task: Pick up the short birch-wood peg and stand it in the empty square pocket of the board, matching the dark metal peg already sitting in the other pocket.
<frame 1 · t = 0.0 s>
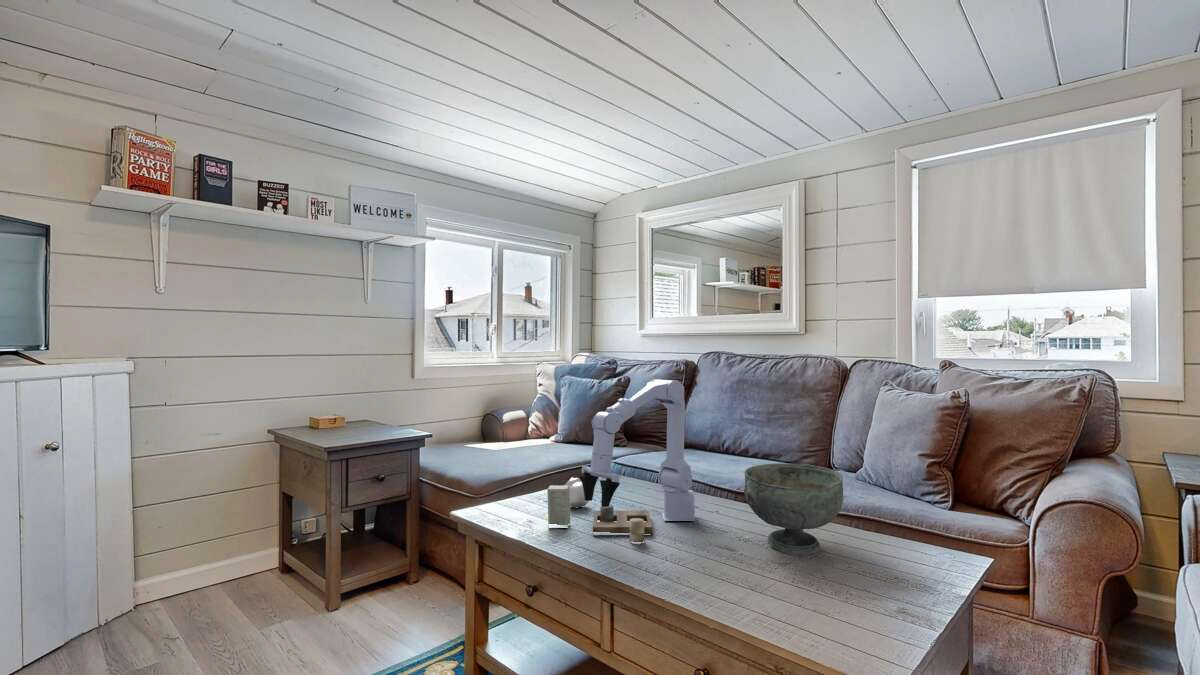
hand: (596, 503, 160), 11 cm above the table, tool pointing down, fingers open, 7 cm apart
ghost figurine: (576, 508, 192), on the table
birch peg: (637, 542, 159), on the table
skincare box: (559, 527, 172), on the table
pocket board: (622, 526, 172), on the table
decorative bowl: (793, 547, 154), on the table
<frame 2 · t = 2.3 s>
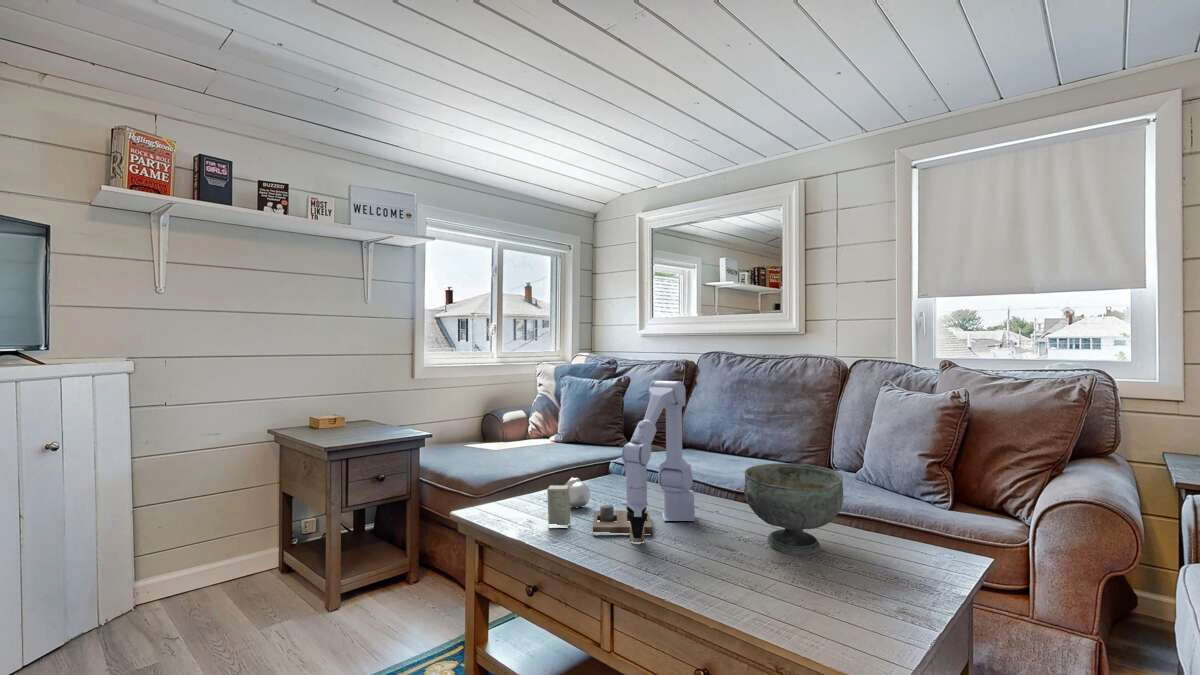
hand: (637, 535, 159), 2 cm above the table, tool pointing down, fingers closed on birch peg, 4 cm apart
birch peg: (637, 542, 159), on the table, touching gripper
everything else where it was.
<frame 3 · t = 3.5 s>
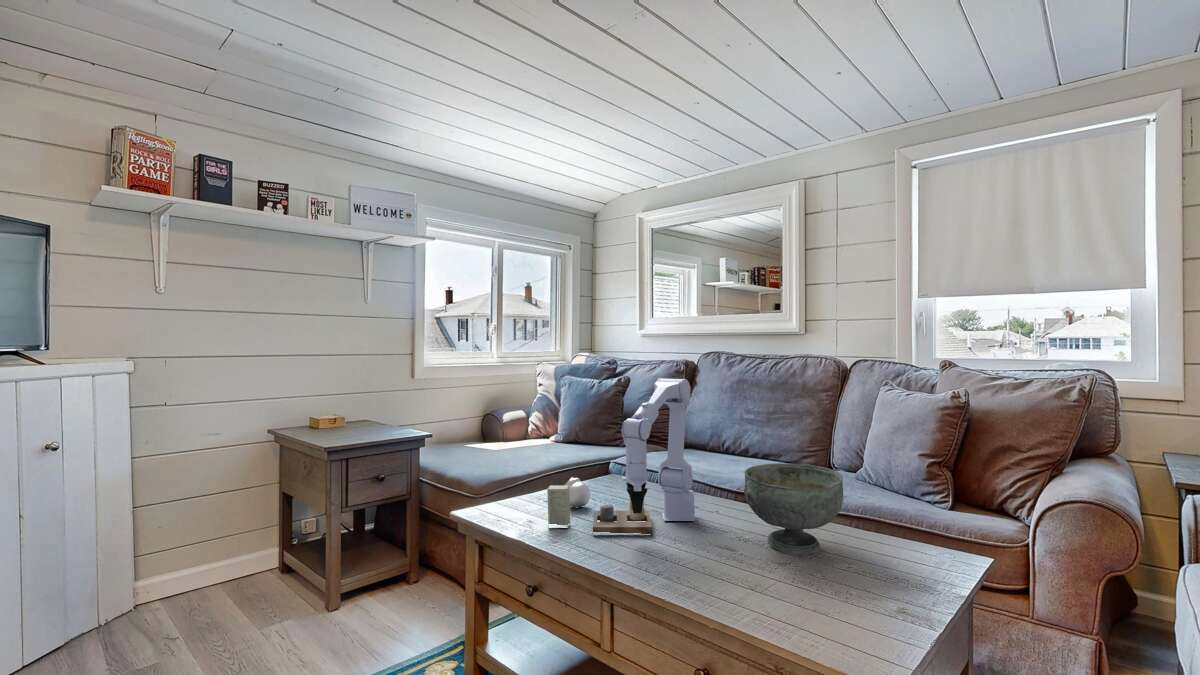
hand: (636, 510, 159), 9 cm above the table, tool pointing down, fingers closed on birch peg, 4 cm apart
birch peg: (636, 517, 159), point 7 cm above the table, touching gripper
everything else where it was.
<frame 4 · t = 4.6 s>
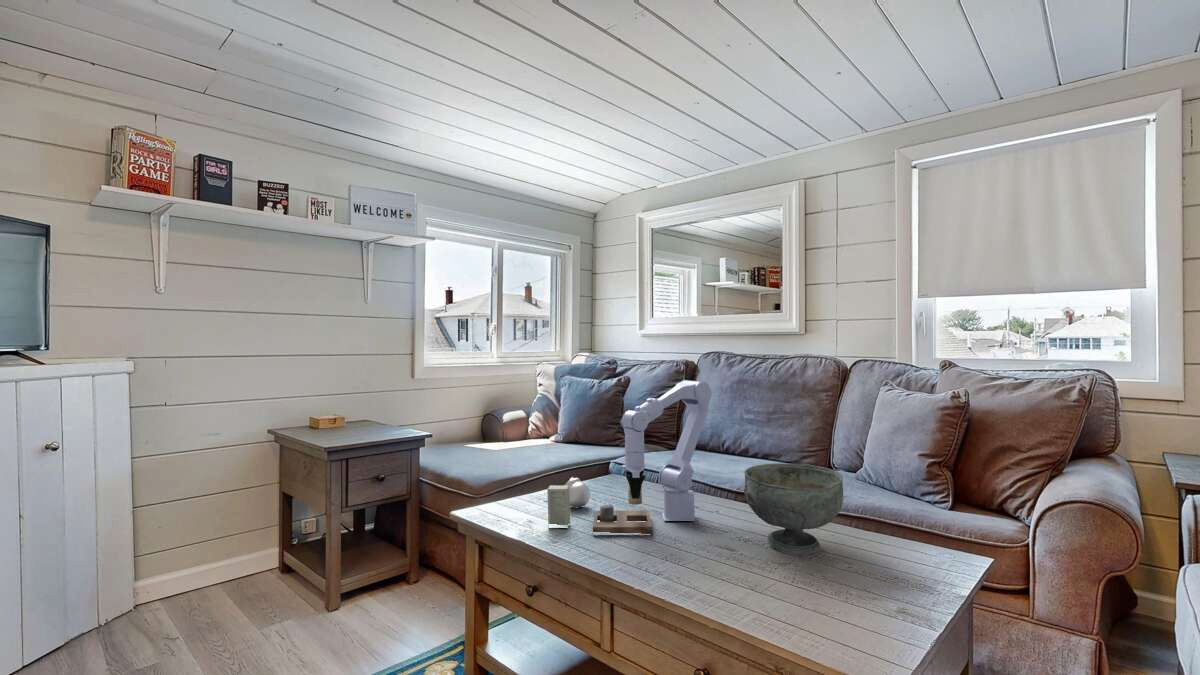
hand: (635, 496, 171), 9 cm above the table, tool pointing down, fingers closed on birch peg, 4 cm apart
birch peg: (635, 502, 171), point 7 cm above the table, touching gripper
everything else where it was.
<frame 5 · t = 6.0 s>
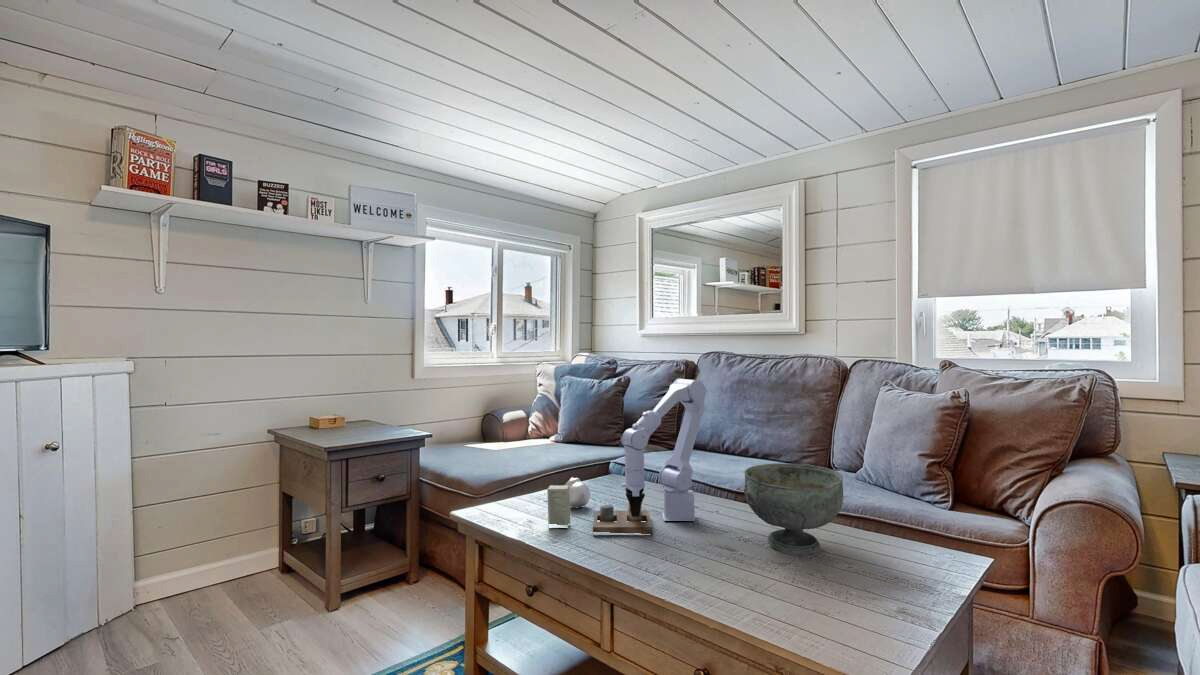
hand: (635, 514, 172), 4 cm above the table, tool pointing down, fingers closed on birch peg, 4 cm apart
birch peg: (635, 520, 172), point 2 cm above the table, touching gripper
everything else where it was.
when the fingers open (3 cm above the table, at t = 7.1 s): birch peg drops 1 cm, resting in pocket board.
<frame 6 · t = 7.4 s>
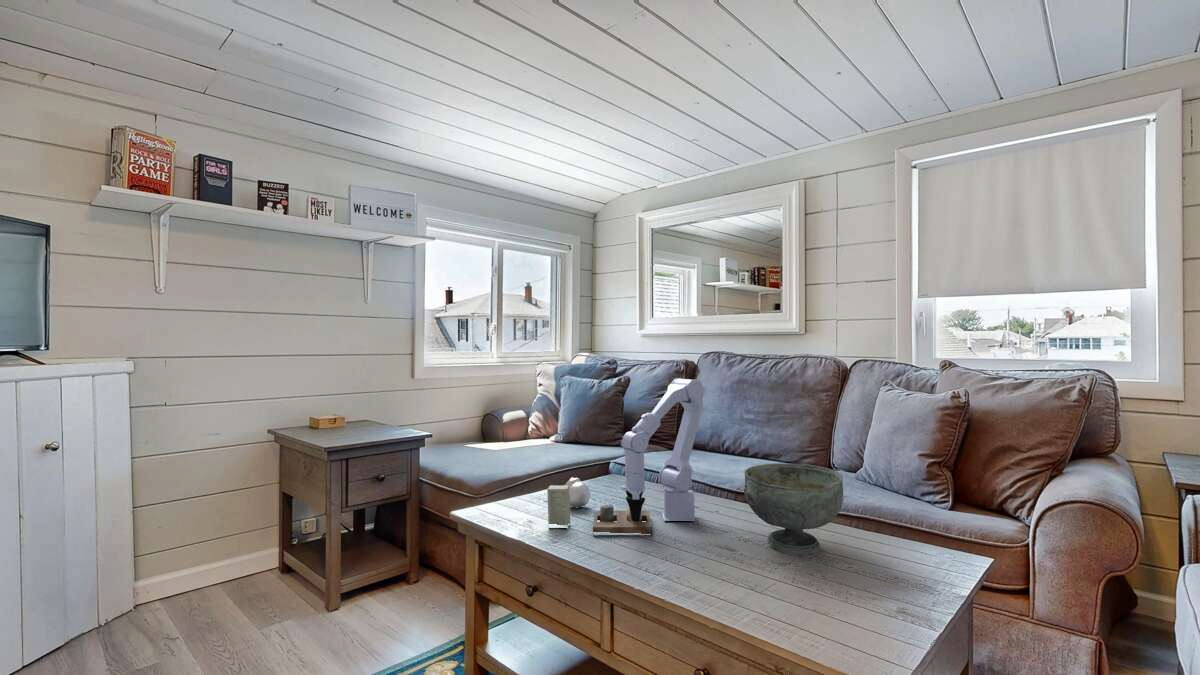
hand: (635, 517, 172), 3 cm above the table, tool pointing down, fingers open, 6 cm apart
birch peg: (635, 526, 172), resting in pocket board
everything else where it was.
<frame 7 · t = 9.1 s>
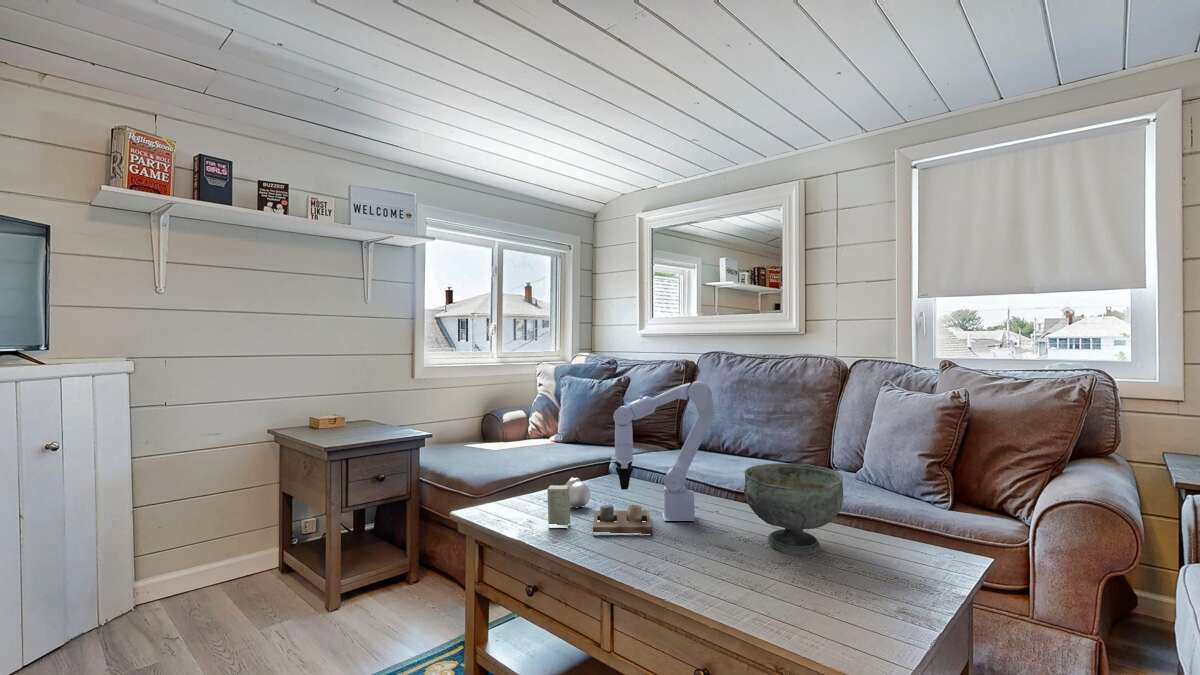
hand: (624, 486, 183), 9 cm above the table, tool pointing down, fingers open, 7 cm apart
nothing on the table moved.
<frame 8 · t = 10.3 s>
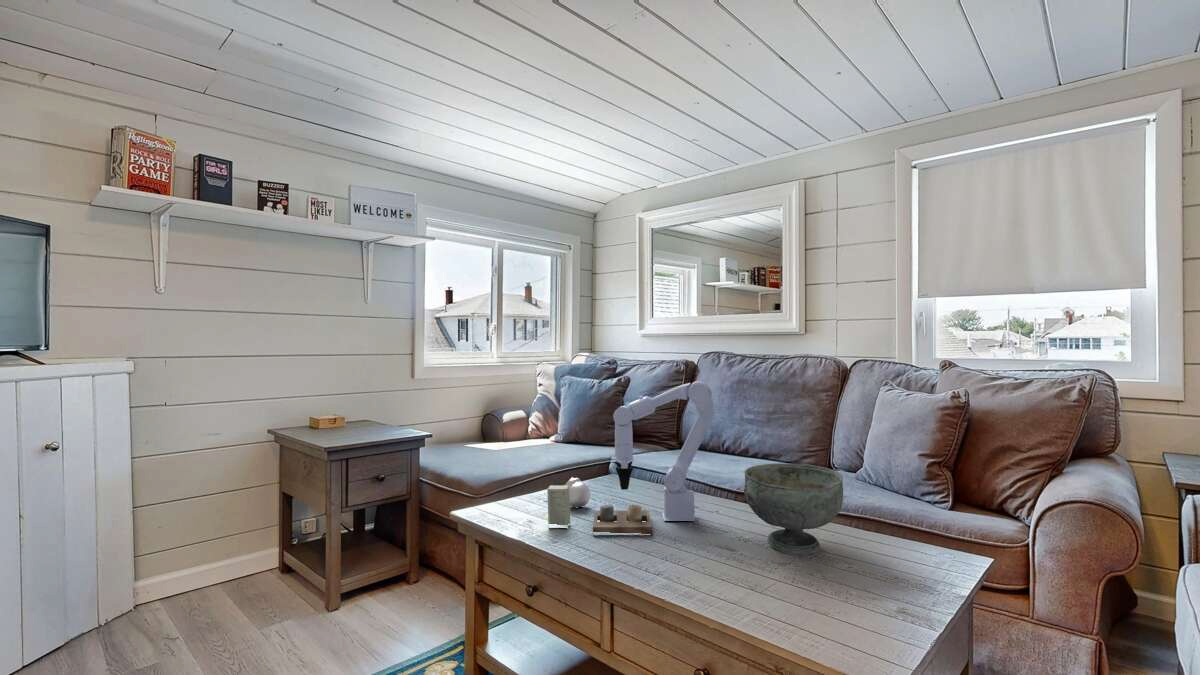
hand: (624, 486, 183), 9 cm above the table, tool pointing down, fingers open, 7 cm apart
nothing on the table moved.
at the end: birch peg 0.6 cm from the target spot on the pocket board, point 0.0 cm above the pocket board's base; birch peg tilted 0°; the gripper is holding nothing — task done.
